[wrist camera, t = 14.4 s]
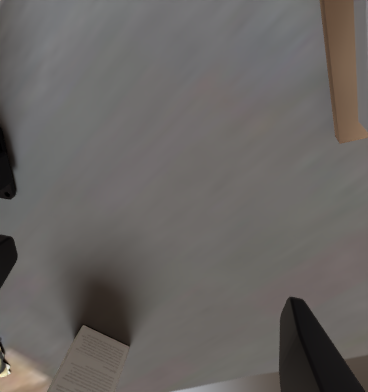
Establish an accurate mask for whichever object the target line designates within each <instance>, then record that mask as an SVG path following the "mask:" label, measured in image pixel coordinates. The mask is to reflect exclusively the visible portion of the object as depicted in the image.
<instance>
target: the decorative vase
mask: <svg viewBox="0 0 368 392" xmlns="http://www.w3.org/2000/svg"><path fill="white" fill-rule="evenodd" d="M3 359H4V354H3V353H2V351H1V348H0V377H4V376H7V375H8V374H11V373H10V372H9V371H8V369H9V368H10V366H9V365H7V364H5V363H4V362H3Z"/></svg>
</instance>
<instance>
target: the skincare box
mask: <svg viewBox="0 0 368 392" xmlns="http://www.w3.org/2000/svg"><path fill="white" fill-rule="evenodd" d="M128 352H129V346H127V345H125V344H122V343H120V342H118V341H116V340H114V339H112V338H110V337H108V336H106V335H103V334H101V333H99V332H97V331H95V330H93V329H91V328H89V327H87V326H84V325H83V326H82V327H81V329H80V330H79V332H78V334H77V335H76V337H75V339H74V341H73V343H72V345H71V346H70V348H69V350H68V352H67V354H66V356H65V358H64V360H63V362H62V364H61V366H60V368H59V369H58V371H57V373H56V375H55V377H54V379H53V381H52V383H51V385H50V387H49V389H48V391H47V392H115V389H116V386H117V383H118V381H119V378H120V375H121V372H122V369H123V366H124V363H125V361H126V358H127V355H128Z"/></svg>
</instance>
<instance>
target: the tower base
mask: <svg viewBox="0 0 368 392" xmlns="http://www.w3.org/2000/svg"><path fill="white" fill-rule="evenodd" d="M320 7H321V15H322V24H323V33H324V42H325V50H326V59H327V68H328V77H329V85H330V94H331V103H332V112H333V120H334V129H335V137H336V138H337V140H338V142H339V143H340V144H341V143H345V142H350V141H354V140H359V139H364V138H368V132H367V131H366V130H365V128H364V127H363V126H362V125H361V124H360V123H359V122H358V99H357V74H356V50H355V25H354V0H320Z"/></svg>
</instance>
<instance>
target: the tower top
mask: <svg viewBox="0 0 368 392" xmlns="http://www.w3.org/2000/svg"><path fill="white" fill-rule="evenodd" d="M354 25H355V50H356V74H357V99H358V122H359V123H360V124H361V125H362V126H363V127H364V128H365V130H366V131H367V132H368V0H354Z"/></svg>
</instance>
